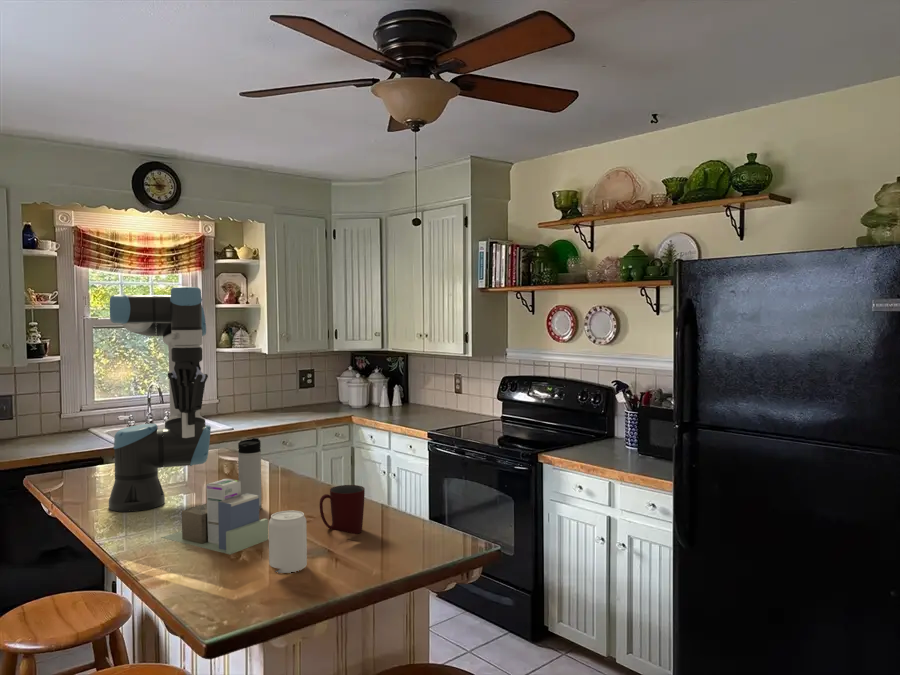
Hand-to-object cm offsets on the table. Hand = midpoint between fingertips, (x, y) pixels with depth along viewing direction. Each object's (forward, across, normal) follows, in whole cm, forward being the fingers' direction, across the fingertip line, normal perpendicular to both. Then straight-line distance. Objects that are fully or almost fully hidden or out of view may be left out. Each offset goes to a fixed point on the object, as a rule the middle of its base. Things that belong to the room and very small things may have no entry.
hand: (188, 436), depth 183 cm
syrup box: (+23, +19, -5) cm, 30 cm away
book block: (+23, +24, -5) cm, 33 cm away
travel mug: (+25, -1, +22) cm, 33 cm away
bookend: (+23, +13, -5) cm, 26 cm away
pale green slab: (+24, +15, -5) cm, 29 cm away
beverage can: (+24, +42, -8) cm, 49 cm away
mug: (+25, +36, +18) cm, 47 cm away
